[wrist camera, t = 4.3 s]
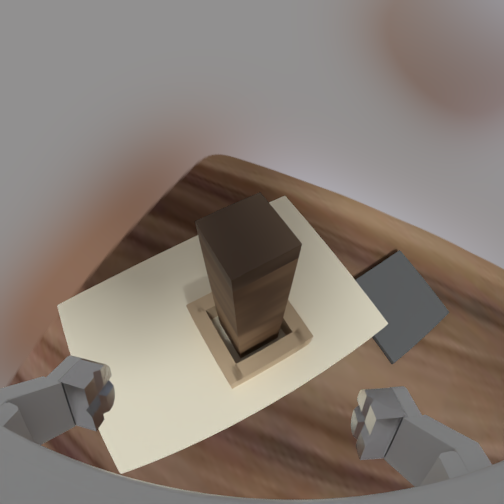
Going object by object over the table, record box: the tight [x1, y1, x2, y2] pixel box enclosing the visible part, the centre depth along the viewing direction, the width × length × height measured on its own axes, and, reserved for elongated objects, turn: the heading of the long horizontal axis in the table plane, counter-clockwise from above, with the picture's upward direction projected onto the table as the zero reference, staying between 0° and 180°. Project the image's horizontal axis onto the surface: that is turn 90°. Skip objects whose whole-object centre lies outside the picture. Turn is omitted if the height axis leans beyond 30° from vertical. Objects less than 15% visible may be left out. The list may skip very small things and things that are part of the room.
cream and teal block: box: [57, 196, 388, 474], centre depth 24 cm, size 23×15×8 cm, turn 121°
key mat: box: [355, 250, 449, 364], centre depth 29 cm, size 9×9×1 cm
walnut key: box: [195, 192, 302, 358], centre depth 17 cm, size 3×3×12 cm
